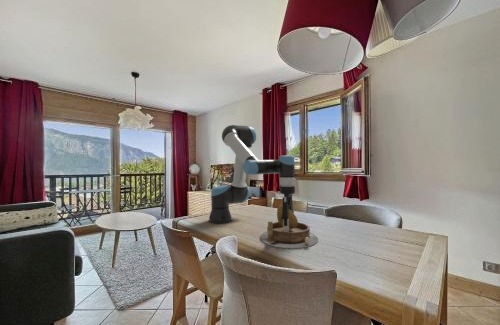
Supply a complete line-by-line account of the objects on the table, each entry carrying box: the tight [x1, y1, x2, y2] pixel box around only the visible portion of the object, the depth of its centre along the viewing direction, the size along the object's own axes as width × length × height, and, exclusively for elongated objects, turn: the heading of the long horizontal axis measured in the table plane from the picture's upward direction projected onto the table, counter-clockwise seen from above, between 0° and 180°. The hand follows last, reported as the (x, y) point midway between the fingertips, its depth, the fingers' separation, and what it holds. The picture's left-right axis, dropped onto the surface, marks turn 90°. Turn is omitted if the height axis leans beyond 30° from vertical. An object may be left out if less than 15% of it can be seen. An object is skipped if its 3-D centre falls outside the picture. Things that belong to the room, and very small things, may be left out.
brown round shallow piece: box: [266, 220, 311, 243], centre depth 115 cm, size 25×21×9 cm
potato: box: [276, 204, 299, 229], centre depth 117 cm, size 10×14×8 cm
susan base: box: [259, 231, 319, 250], centre depth 117 cm, size 29×29×4 cm
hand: (288, 228), depth 117 cm, fingers closed on potato, 11 cm apart
